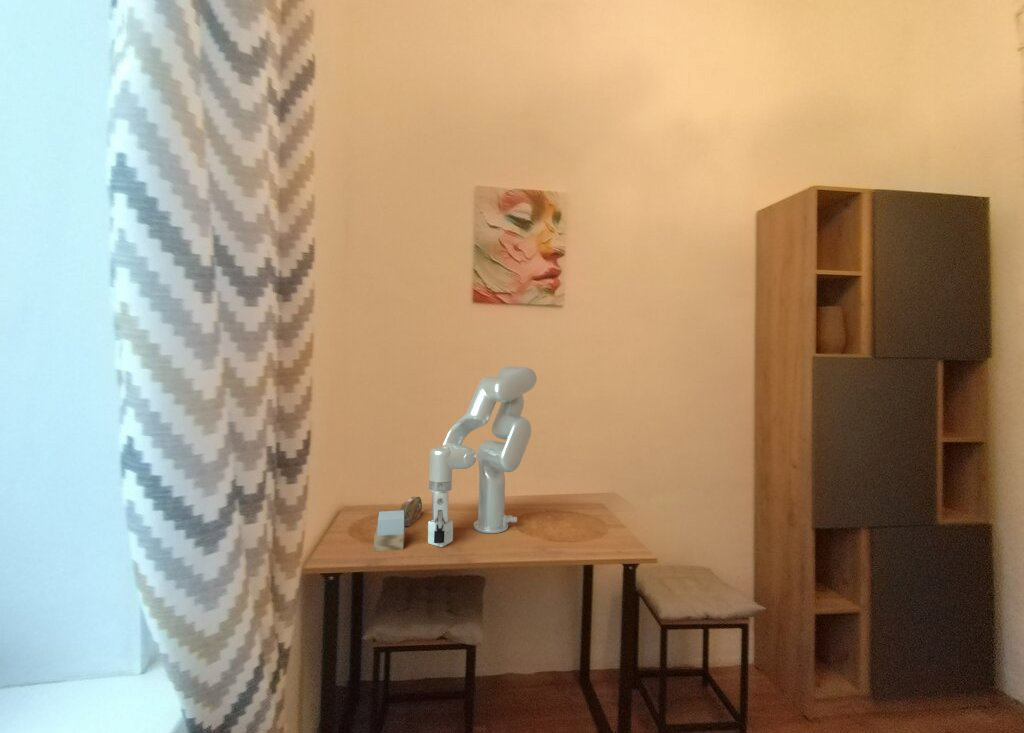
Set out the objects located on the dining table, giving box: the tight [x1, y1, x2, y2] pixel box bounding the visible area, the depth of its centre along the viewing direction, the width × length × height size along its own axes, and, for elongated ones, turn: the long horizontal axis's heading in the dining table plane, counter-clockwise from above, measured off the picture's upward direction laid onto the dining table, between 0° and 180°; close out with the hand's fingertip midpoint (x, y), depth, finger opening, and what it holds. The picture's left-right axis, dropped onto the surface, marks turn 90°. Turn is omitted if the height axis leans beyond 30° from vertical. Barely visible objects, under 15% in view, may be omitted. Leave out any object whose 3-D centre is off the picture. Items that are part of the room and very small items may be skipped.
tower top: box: [377, 510, 404, 536], centre depth 145 cm, size 8×8×5 cm
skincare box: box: [427, 518, 454, 548], centre depth 148 cm, size 6×6×7 cm
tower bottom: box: [373, 525, 406, 552], centre depth 145 cm, size 9×9×5 cm
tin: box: [399, 496, 423, 527], centre depth 166 cm, size 15×3×8 cm, turn 168°
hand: (438, 537), depth 148 cm, fingers closed on skincare box, 8 cm apart
